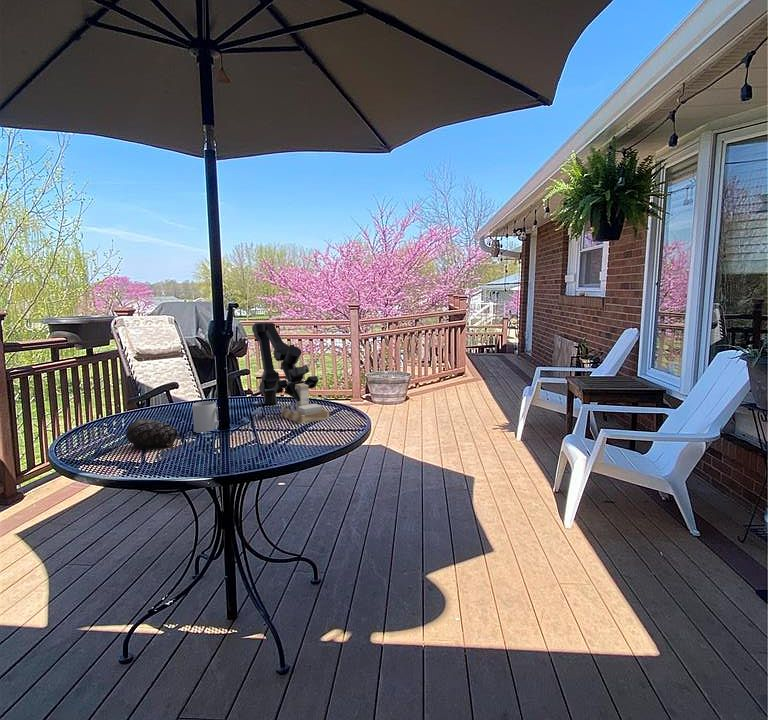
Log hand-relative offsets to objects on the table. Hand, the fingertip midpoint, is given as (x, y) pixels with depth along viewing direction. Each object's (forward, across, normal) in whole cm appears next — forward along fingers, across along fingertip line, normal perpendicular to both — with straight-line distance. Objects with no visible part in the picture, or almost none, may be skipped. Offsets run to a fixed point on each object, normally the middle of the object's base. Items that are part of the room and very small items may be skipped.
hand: (303, 400), depth 200 cm
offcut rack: (+6, 0, +5) cm, 8 cm away
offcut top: (+7, 0, -1) cm, 7 cm away
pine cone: (+6, -58, +6) cm, 58 cm away
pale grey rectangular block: (+4, 0, +6) cm, 7 cm away
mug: (+1, -37, +10) cm, 38 cm away
